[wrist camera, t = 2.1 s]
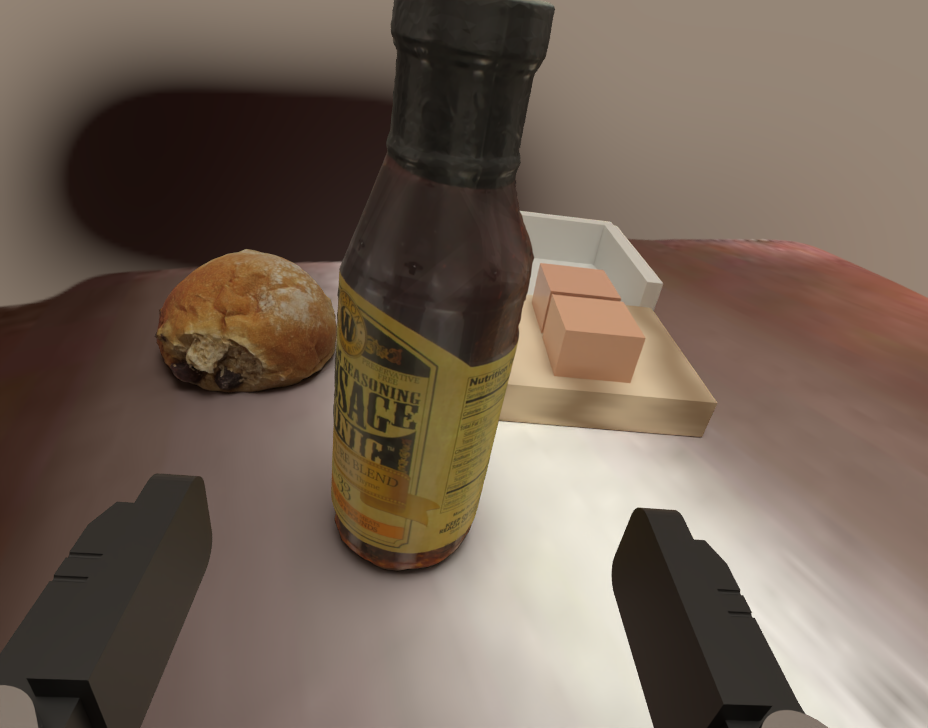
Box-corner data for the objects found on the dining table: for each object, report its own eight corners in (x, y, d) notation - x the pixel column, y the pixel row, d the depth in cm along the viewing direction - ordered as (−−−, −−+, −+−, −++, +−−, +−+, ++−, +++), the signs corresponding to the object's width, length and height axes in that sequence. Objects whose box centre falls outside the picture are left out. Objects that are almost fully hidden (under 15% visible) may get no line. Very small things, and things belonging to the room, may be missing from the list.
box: (601, 267, 55) (613, 222, 53) (644, 337, 43) (663, 283, 41) (453, 250, 54) (458, 203, 51) (456, 318, 42) (464, 261, 40)
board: (640, 336, 43) (650, 307, 42) (702, 437, 33) (717, 402, 32) (460, 318, 42) (464, 287, 41) (466, 417, 32) (472, 380, 31)
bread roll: (345, 417, 36) (391, 302, 35) (198, 420, 28) (251, 268, 26) (258, 352, 41) (295, 250, 40) (109, 338, 33) (150, 207, 31)
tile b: (592, 308, 41) (603, 269, 39) (608, 339, 37) (621, 298, 35) (531, 302, 40) (540, 263, 38) (540, 333, 36) (550, 290, 35)
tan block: (610, 343, 36) (623, 301, 35) (630, 383, 32) (645, 338, 31) (542, 337, 36) (552, 294, 34) (554, 376, 32) (565, 330, 30)
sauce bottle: (309, 497, 25) (298, -41, 15) (429, 457, 29) (489, -7, 18) (372, 614, 21) (418, -34, 11) (505, 551, 24) (642, 10, 14)
